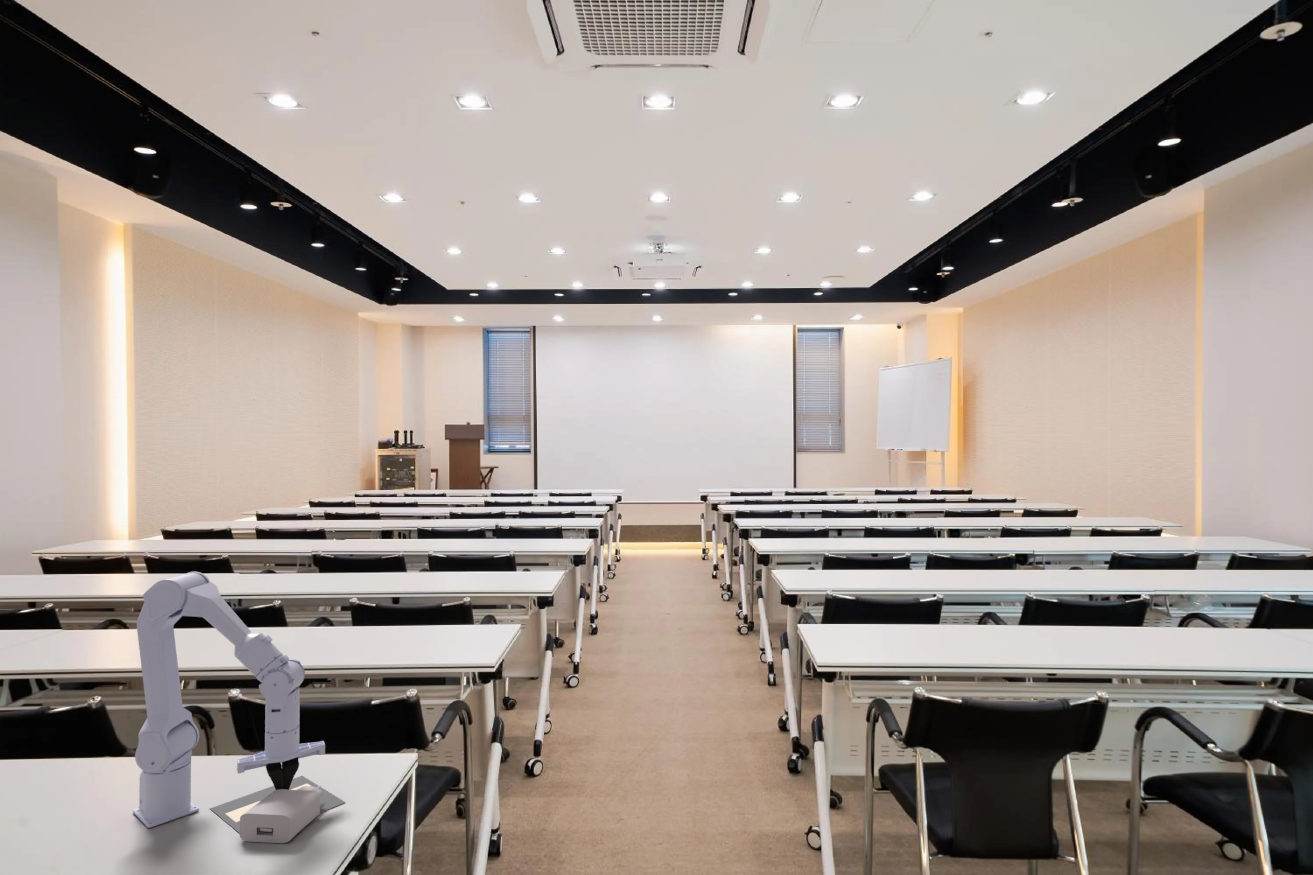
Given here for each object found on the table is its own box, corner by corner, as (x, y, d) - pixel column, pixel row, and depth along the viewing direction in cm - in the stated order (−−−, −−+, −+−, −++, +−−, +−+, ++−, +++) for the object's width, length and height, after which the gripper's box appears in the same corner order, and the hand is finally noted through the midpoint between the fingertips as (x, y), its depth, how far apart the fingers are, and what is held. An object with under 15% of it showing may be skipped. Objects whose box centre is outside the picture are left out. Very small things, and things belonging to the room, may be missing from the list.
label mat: (209, 808, 130) (209, 807, 130) (302, 775, 144) (302, 775, 144) (249, 841, 119) (249, 840, 119) (345, 802, 133) (345, 801, 133)
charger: (338, 800, 133) (290, 843, 118) (293, 798, 134) (239, 841, 119) (338, 775, 134) (290, 815, 119) (293, 773, 134) (239, 813, 119)
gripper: (321, 713, 138) (320, 781, 138) (236, 729, 130) (235, 802, 130) (327, 724, 133) (326, 796, 132) (238, 742, 124) (238, 819, 124)
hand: (281, 800), depth 131 cm, fingers closed
